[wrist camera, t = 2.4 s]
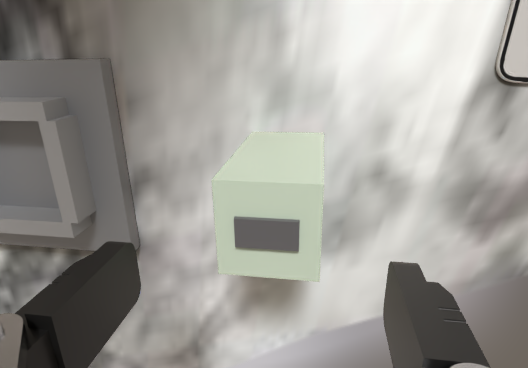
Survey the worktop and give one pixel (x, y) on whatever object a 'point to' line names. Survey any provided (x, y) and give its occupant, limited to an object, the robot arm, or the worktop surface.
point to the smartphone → (514, 45)
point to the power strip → (62, 156)
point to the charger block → (271, 207)
